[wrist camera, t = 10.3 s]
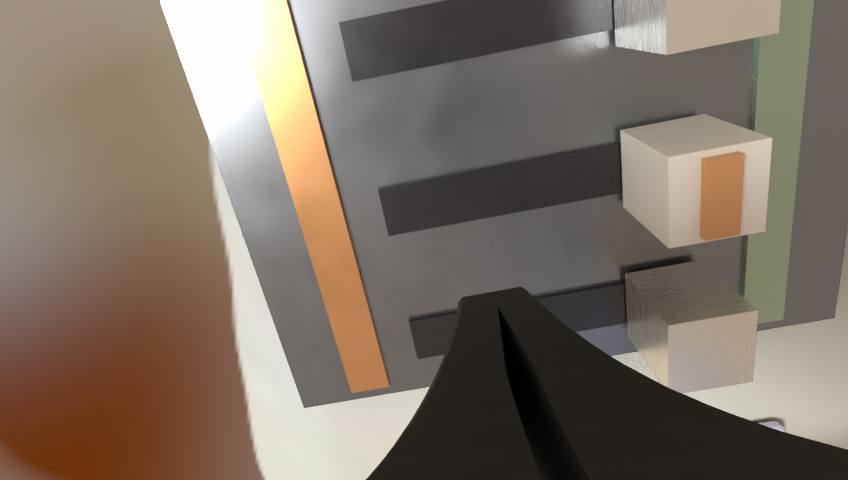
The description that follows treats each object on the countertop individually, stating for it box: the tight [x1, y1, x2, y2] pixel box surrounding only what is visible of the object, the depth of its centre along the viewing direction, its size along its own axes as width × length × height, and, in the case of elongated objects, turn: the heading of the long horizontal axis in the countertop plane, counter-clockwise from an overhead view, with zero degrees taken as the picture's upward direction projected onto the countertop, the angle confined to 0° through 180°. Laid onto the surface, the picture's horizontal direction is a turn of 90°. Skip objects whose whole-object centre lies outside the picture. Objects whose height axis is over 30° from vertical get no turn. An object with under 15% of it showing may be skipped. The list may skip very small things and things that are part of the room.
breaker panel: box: [160, 0, 848, 408], centre depth 18 cm, size 16×22×5 cm
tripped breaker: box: [620, 114, 772, 249], centre depth 17 cm, size 3×3×4 cm
